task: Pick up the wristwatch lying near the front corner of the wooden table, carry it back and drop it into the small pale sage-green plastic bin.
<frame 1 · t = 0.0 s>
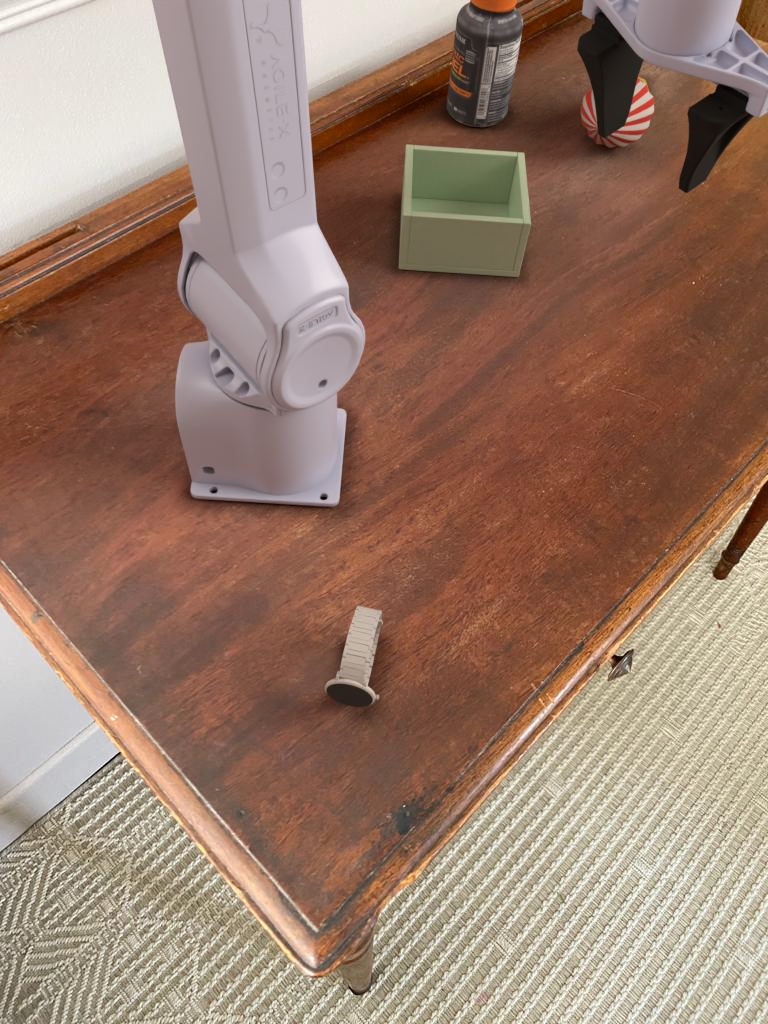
hand: (650, 156, 56), 11 cm above the table, tool pointing down, fingers open, 7 cm apart
striped christmas ornament: (620, 129, 77), on the table
pill bottle: (476, 113, 77), on the table
wristwatch: (360, 674, 45), on the table
bin: (458, 236, 67), on the table
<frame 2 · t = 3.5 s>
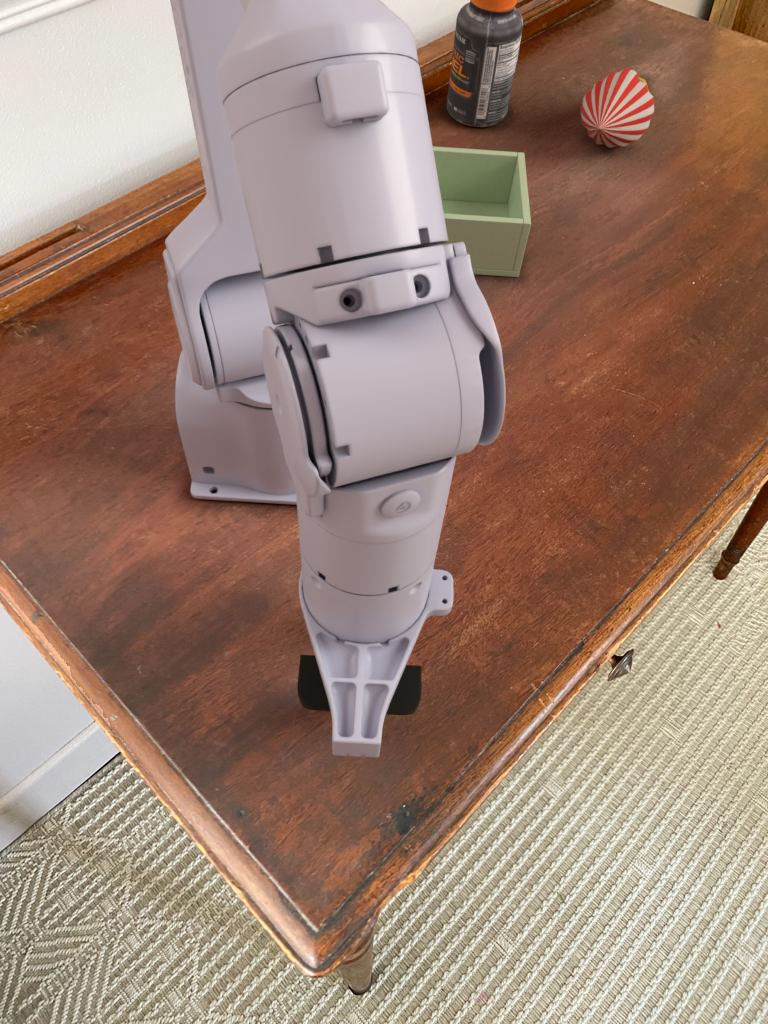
hand: (360, 663, 44), 1 cm above the table, tool pointing down, fingers closed on wristwatch, 5 cm apart
wristwatch: (360, 673, 45), on the table, touching gripper
everything else where it was.
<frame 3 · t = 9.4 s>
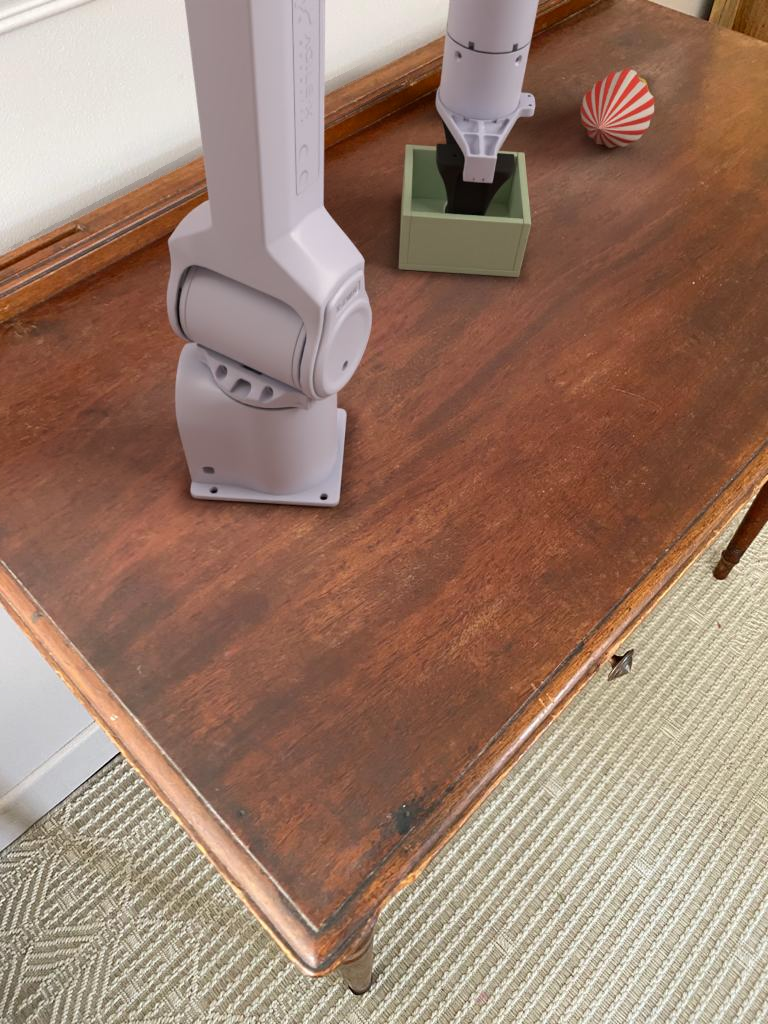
hand: (462, 208, 65), 3 cm above the table, tool pointing down, fingers closed on wristwatch, 5 cm apart
wristwatch: (461, 225, 66), point 1 cm above the table, touching gripper
everything else where it was.
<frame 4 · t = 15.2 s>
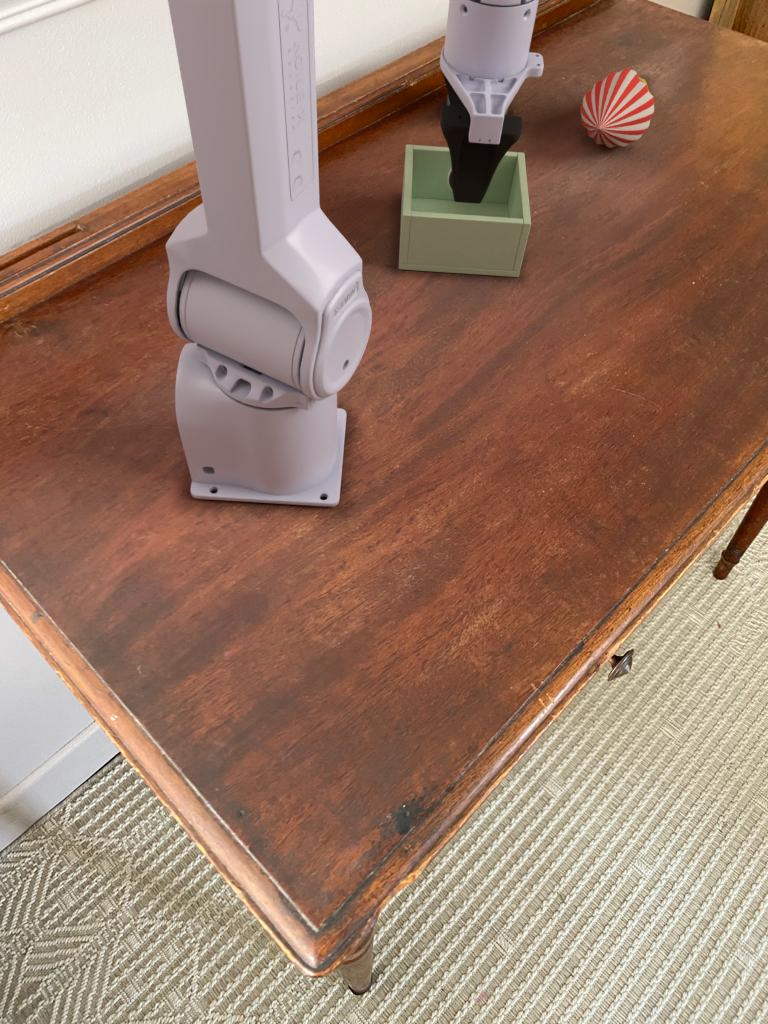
hand: (466, 177, 62), 6 cm above the table, tool pointing down, fingers closed on wristwatch, 5 cm apart
wristwatch: (466, 195, 64), point 4 cm above the table, touching gripper
everything else where it was.
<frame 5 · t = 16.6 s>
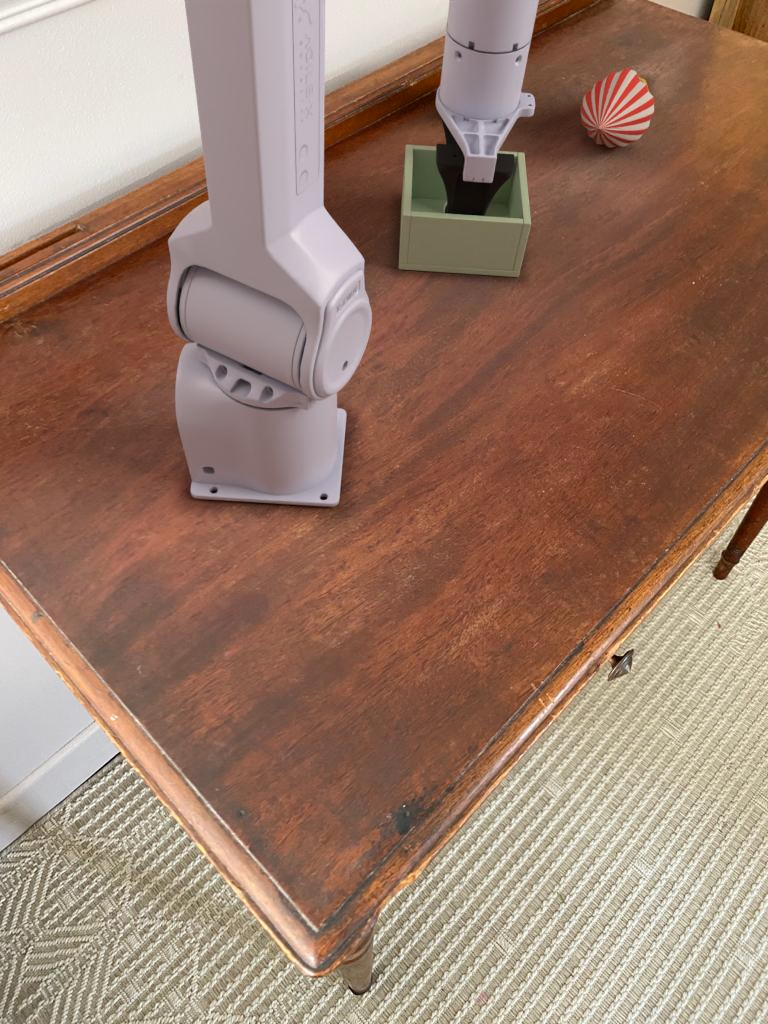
hand: (462, 208, 64), 3 cm above the table, tool pointing down, fingers closed on wristwatch, 5 cm apart
wristwatch: (461, 225, 66), point 1 cm above the table, touching gripper
everything else where it was.
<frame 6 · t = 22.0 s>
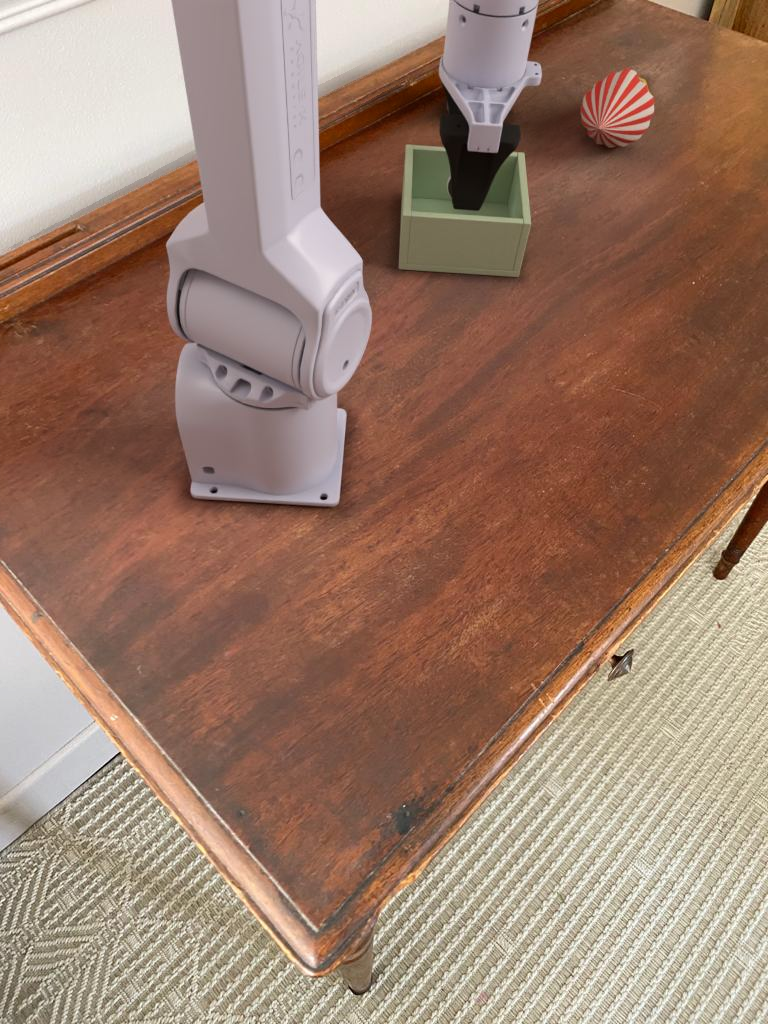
hand: (465, 184, 63), 5 cm above the table, tool pointing down, fingers closed on wristwatch, 5 cm apart
wristwatch: (465, 202, 64), point 3 cm above the table, touching gripper
everything else where it was.
when the fingers open (6 cm above the table, at t = 27.0 s): wristwatch drops 4 cm, resting on bin.
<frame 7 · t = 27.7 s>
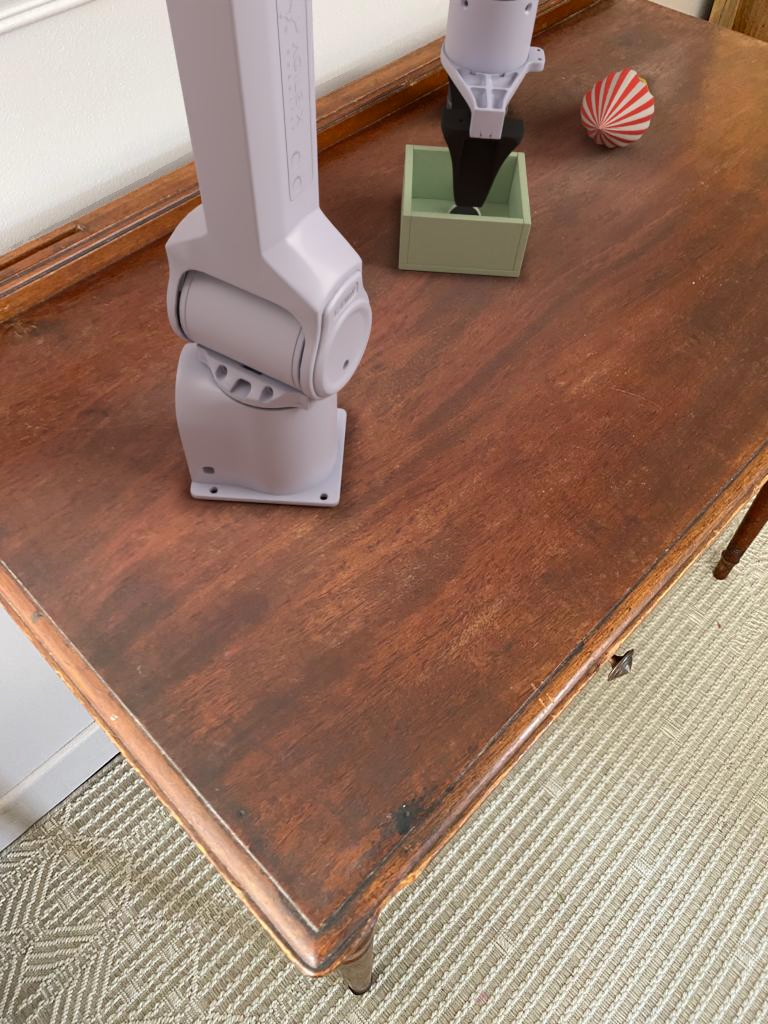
hand: (467, 173, 62), 6 cm above the table, tool pointing down, fingers open, 7 cm apart
wristwatch: (462, 231, 67), resting on bin
everything else where it was.
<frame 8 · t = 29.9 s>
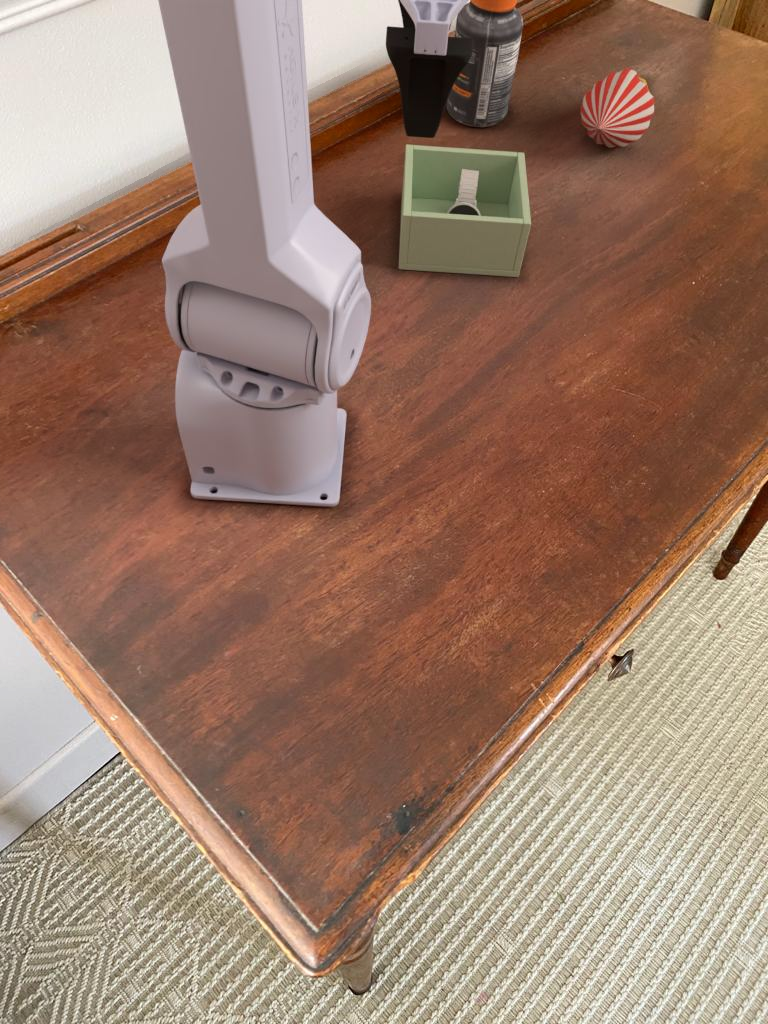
hand: (421, 105, 60), 10 cm above the table, tool pointing down, fingers open, 7 cm apart
nothing on the table moved.
at the end: wristwatch inside the target area in the bin (0.4 cm from its centre), point 0.4 cm above the bin's base; the gripper is holding nothing; wristwatch moved 39.7 cm from its start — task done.
